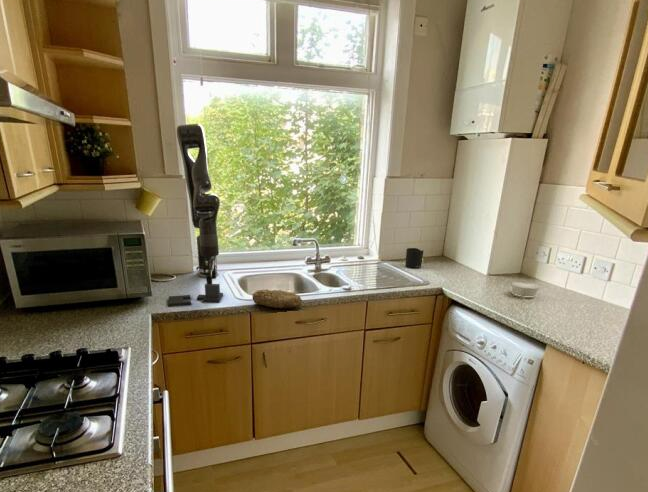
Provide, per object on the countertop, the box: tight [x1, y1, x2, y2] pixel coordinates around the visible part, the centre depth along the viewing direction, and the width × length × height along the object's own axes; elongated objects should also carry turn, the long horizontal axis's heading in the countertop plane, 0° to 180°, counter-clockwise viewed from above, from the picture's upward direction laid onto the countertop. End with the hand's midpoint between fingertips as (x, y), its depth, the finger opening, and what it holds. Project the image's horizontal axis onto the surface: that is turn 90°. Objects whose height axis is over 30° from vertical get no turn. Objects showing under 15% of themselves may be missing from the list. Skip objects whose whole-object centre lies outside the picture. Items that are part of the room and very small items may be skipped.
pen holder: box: [405, 247, 424, 270], centre depth 239 cm, size 9×9×10 cm
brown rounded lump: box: [251, 289, 303, 309], centre depth 174 cm, size 13×8×20 cm
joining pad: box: [196, 283, 224, 304], centre depth 182 cm, size 10×10×6 cm
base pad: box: [167, 294, 192, 307], centre depth 178 cm, size 10×9×1 cm
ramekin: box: [511, 281, 540, 299], centre depth 193 cm, size 11×11×5 cm
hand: (211, 281), depth 180 cm, fingers open, 8 cm apart
